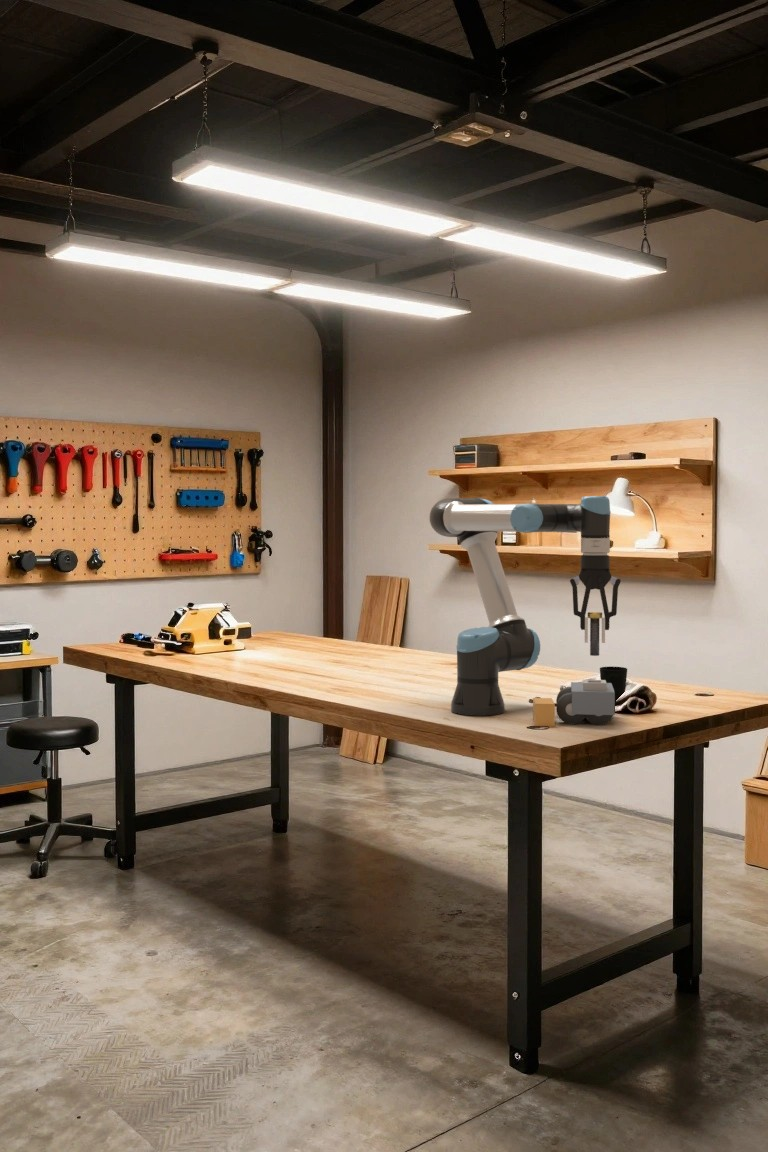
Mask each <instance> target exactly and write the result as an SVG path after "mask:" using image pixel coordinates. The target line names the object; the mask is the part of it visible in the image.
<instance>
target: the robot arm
mask: <svg viewBox="0 0 768 1152" xmlns="http://www.w3.org/2000/svg"><path fill="white" fill-rule="evenodd" d="M610 503H611V501H610V499H609V496H606V495H588V496H587V495H585V496H582V497H581V498H580V503H575V504H574V503H568V504H567V503H529V502H528V503H493V502H492V501H490V500H488V499H486V498H485V499H484V498H480V497H473V498H465V497H464V498H459V497H458V498H457V497H448V498H442V499H440V500H438V501H437V502H436V503H434V505H433V506H432V507H431V509H430V513H429V523H430V526H431V527H432V529H433V531H435V532H436V534H438V535H440V536H442V537H446V538H457V539H458V542H459V545H460V548H462V549H465V550H466V551H467V554H468V557H469V560H470V564H471V567H472V571H473V574H474V577H475V581H476V584H477V588H478V590H479V594H480V597H481V601H482V604H483V607H484V609H485V613H486V617H487V620H488V624H489V625H488V626H481V627H473V628H468V629H464V630H462V631H461V632H459V633H458V636H457V644H456V664H457V665H456V671H457V672H456V673H457V678H456V687H455V690H454V693H453V696H452V700H451V703H450V710H451V712H452V713H454V714H457V713H458V714H457V715H465V716H480V717H481V716H482V717H483V716H494V715H499V714H503V713H505V709H506V708H505V701H504V698H503V695H502V692H501V688H500V686H499V673H502V672H510V671H521V670H523V669H529V668H530V667H532V666H534V665H535V664H536V662H537V660H538V658H539V656H540V653H541V641H540V637H539V635H538V634H537V632H536V631H534V630H533V629H532V628H528V627H527V624H526V621H525V618H523V617H522V616H521V617H520V616H519V615H518V613H517V609H516V607H515V604H514V603H515V602H514V600H513V597H512V594H511V590H510V587H509V584H508V581H507V578H506V575H505V571H504V568H503V565H502V561H501V558H500V555H499V551H498V549H497V545H496V542H495V541H496V539H497V538H498V536H499V535H498V532H505V533H506V532H510V533H511V532H514V533H516V532H517V533H519V532H520V533H526V534H527V533H528V534H529V533H530V534H531V533H566V532H567V533H571V532H573V533H576V532H577V533H579V532H580V552H581V556H580V572H579V574H578V575H577V576H575V577H571V578H570V579H569V583H570V585H571V589H572V604H573V605H572V606H573V607H572V608H573V615H574V616H577V617H579V619H580V622H579V623H580V625H579V626H580V630H581V631H583V630H584V643H589V640H588V639H589V618H588V616H587V617H586V615H587V614H586V613H587V609H588V604H589V598H590V593H591V590H597V591H598V590H599V593H600V599H601V605H602V610H603V615H604V617H602V618H601V643H602V644H606V631H609V629H610V620H611V618H612V617H615V616H616V615H618V614H617V611H618V595H619V593H618V591H619V586H620V585H621V579H620V577H619V578H618V577H614V576H613V575H612V573H611V569H610V566H611V563H610V562H611V559H610V558H611V557H610V555H608V554H609V553H610V552H611V551H610V549H611V548H610V547H611V546H610V545H611V544H610V543H611V542H610V541H611V540H610V537H611V536H610V528H611V527H610V525H611V505H610ZM580 581H581V583H582V585H584V587H585V589H584V595H583V600H582V605H581V610H580V611H579V601H578V599H579V597H578V585H579V583H580ZM610 581H611V585H612V596H611V611H609V606H608V601H607V596H606V589H605V588H606V586H607V585H608V584H609V582H610Z"/></svg>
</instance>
